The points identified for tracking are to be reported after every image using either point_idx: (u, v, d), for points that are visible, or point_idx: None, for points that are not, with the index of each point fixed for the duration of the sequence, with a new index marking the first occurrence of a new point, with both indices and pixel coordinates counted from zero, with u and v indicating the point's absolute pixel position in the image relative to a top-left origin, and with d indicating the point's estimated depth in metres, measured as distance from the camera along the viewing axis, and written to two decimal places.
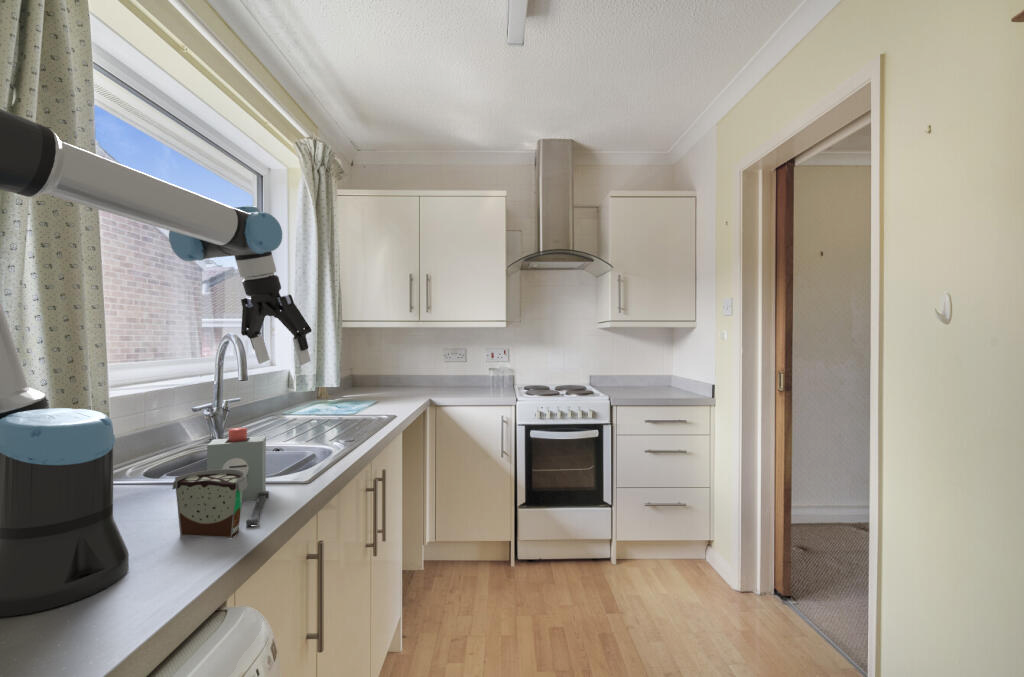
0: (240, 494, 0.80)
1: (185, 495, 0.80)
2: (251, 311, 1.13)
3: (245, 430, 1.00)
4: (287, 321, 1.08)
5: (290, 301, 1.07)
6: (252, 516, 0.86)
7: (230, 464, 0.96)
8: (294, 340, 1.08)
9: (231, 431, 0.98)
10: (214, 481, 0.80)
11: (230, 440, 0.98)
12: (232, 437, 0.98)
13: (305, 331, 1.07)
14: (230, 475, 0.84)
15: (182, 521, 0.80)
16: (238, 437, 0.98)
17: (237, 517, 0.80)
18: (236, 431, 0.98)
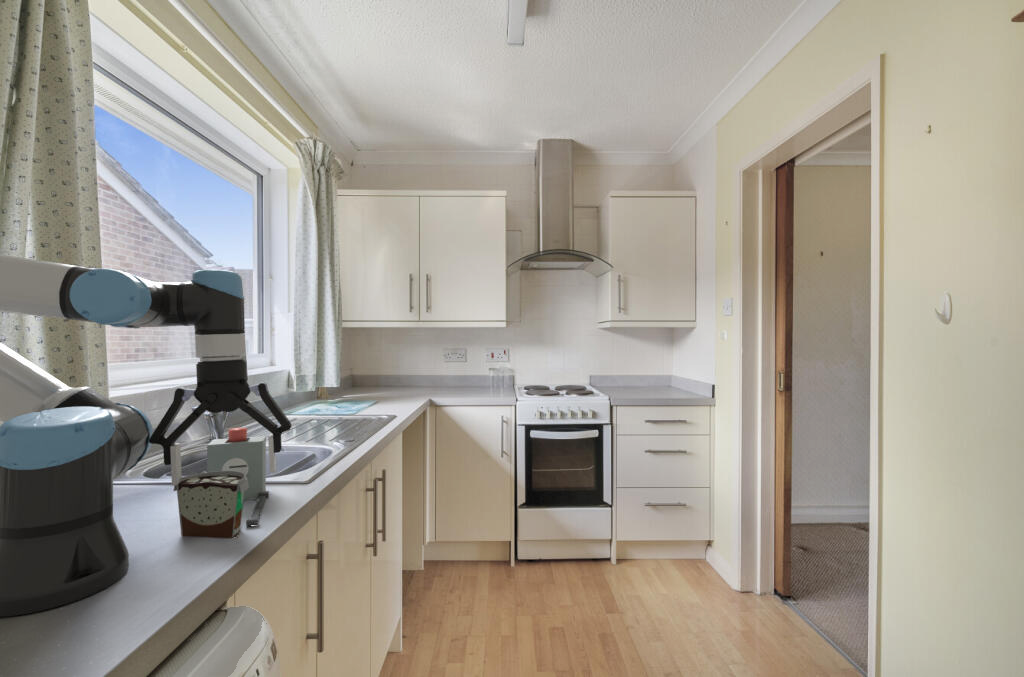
0: (241, 495, 0.80)
1: (186, 497, 0.80)
2: (180, 408, 0.80)
3: (245, 430, 1.00)
4: (261, 415, 0.84)
5: (267, 389, 0.86)
6: (252, 516, 0.86)
7: (230, 464, 0.96)
8: (270, 438, 0.84)
9: (231, 431, 0.98)
10: (215, 483, 0.80)
11: (230, 440, 0.98)
12: (232, 437, 0.98)
13: (290, 425, 0.86)
14: (231, 476, 0.84)
15: (183, 523, 0.80)
16: (238, 437, 0.98)
17: (238, 518, 0.80)
18: (236, 431, 0.98)
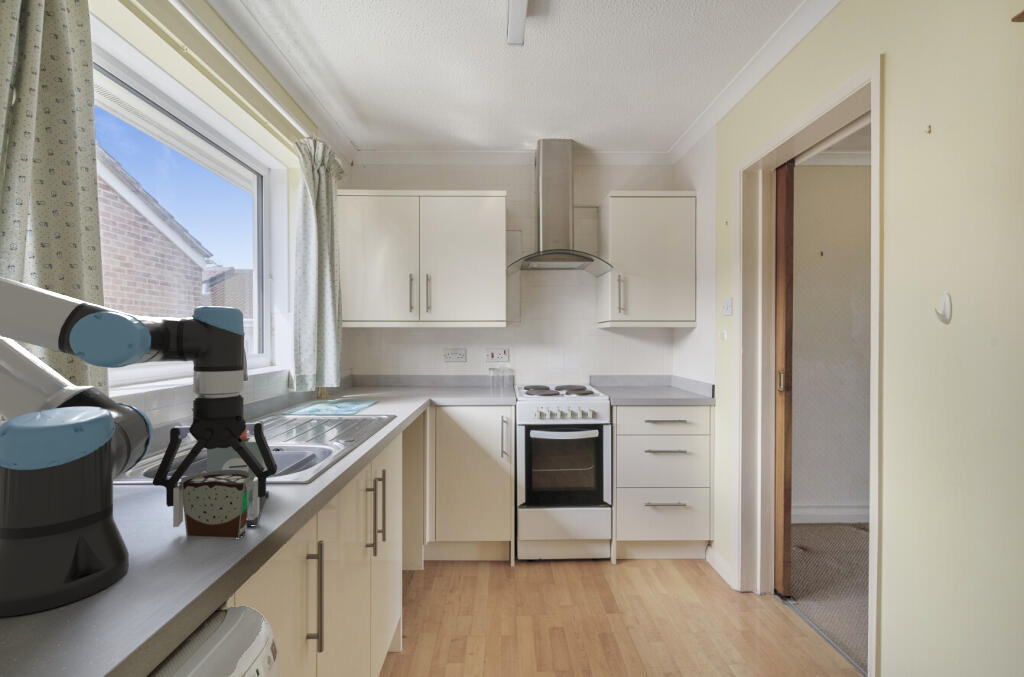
0: (247, 494, 0.80)
1: (191, 496, 0.79)
2: (178, 446, 0.80)
3: (245, 430, 1.00)
4: (251, 456, 0.84)
5: (262, 429, 0.85)
6: (252, 516, 0.86)
7: (230, 464, 0.96)
8: (255, 483, 0.83)
9: None
10: (221, 482, 0.79)
11: None
12: None
13: (276, 470, 0.85)
14: (236, 475, 0.84)
15: (188, 522, 0.79)
16: None
17: (244, 517, 0.80)
18: None
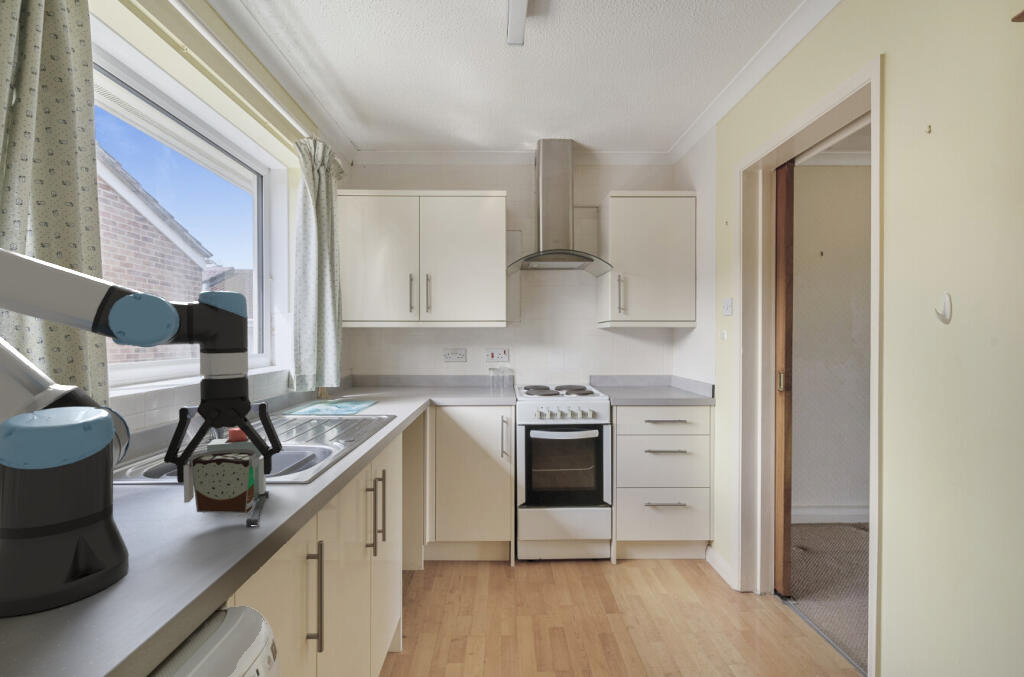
0: (253, 471, 0.83)
1: (200, 473, 0.83)
2: (187, 426, 0.84)
3: None
4: (256, 435, 0.87)
5: (266, 410, 0.89)
6: (252, 516, 0.86)
7: None
8: (261, 461, 0.87)
9: (231, 431, 0.98)
10: (228, 459, 0.83)
11: (230, 440, 0.98)
12: (232, 437, 0.98)
13: (280, 448, 0.89)
14: (243, 454, 0.87)
15: (198, 498, 0.83)
16: (238, 437, 0.98)
17: (251, 493, 0.83)
18: (236, 431, 0.98)
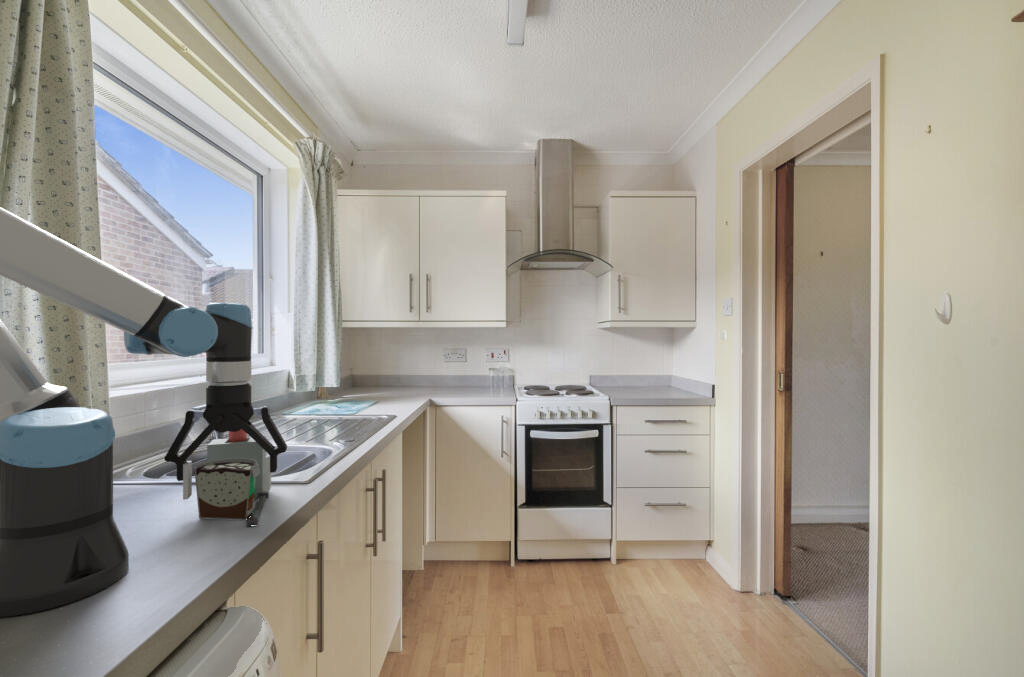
0: (254, 480, 0.88)
1: (203, 481, 0.88)
2: (190, 428, 0.89)
3: None
4: (261, 437, 0.92)
5: (268, 413, 0.94)
6: (252, 516, 0.86)
7: None
8: (267, 459, 0.92)
9: None
10: (230, 468, 0.88)
11: (230, 440, 0.98)
12: (232, 437, 0.98)
13: (286, 447, 0.94)
14: (244, 463, 0.92)
15: (201, 505, 0.88)
16: (238, 437, 0.98)
17: (251, 501, 0.88)
18: None
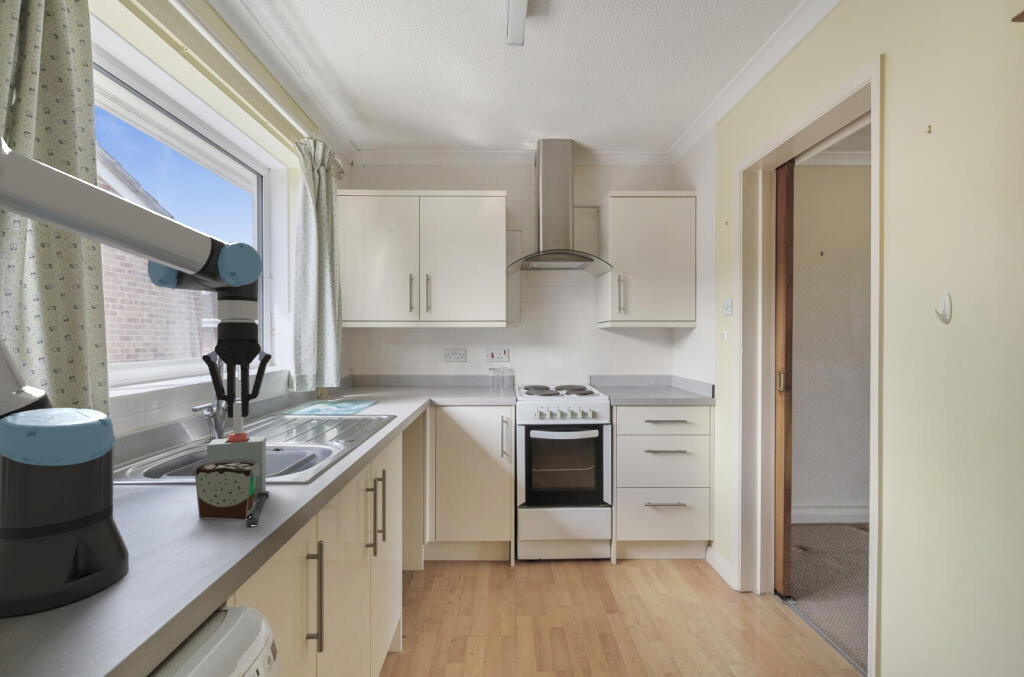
0: (254, 480, 0.88)
1: (203, 481, 0.88)
2: (217, 368, 0.98)
3: (245, 435, 1.00)
4: (247, 380, 1.00)
5: (268, 361, 1.02)
6: (252, 516, 0.86)
7: None
8: (239, 404, 0.99)
9: (231, 436, 0.98)
10: (230, 468, 0.88)
11: None
12: (232, 442, 0.98)
13: (257, 396, 1.01)
14: (244, 463, 0.92)
15: (201, 505, 0.88)
16: None
17: (251, 501, 0.88)
18: (236, 436, 0.98)
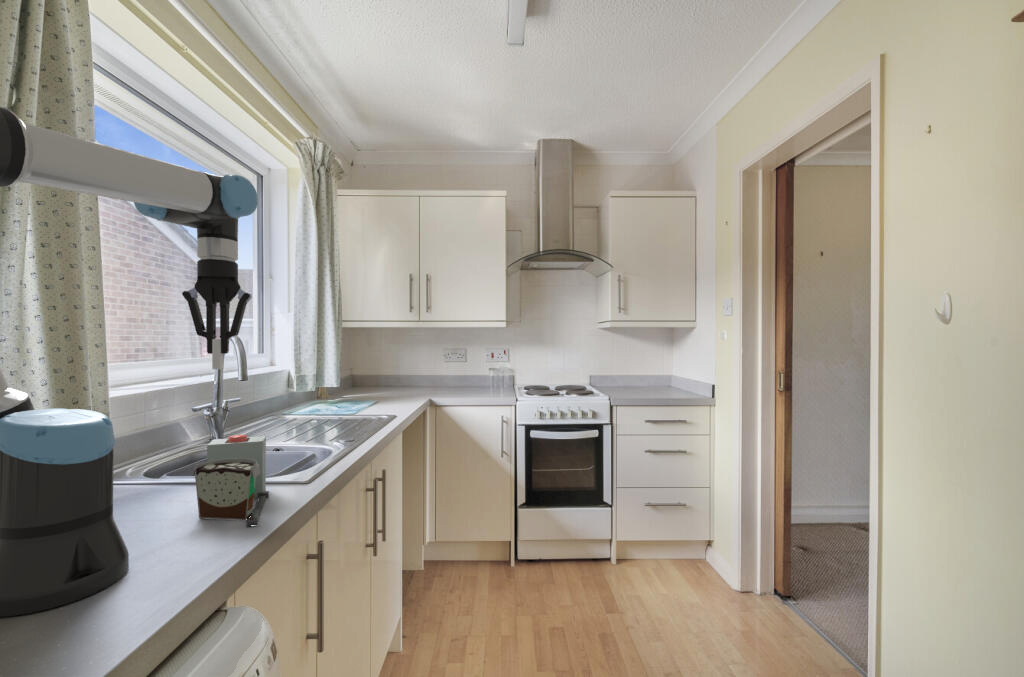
0: (254, 480, 0.88)
1: (203, 481, 0.88)
2: (197, 305, 1.01)
3: (245, 437, 1.00)
4: (226, 318, 1.02)
5: (247, 300, 1.04)
6: (252, 516, 0.86)
7: None
8: (218, 341, 1.01)
9: (231, 438, 0.98)
10: (230, 468, 0.88)
11: None
12: None
13: (236, 334, 1.03)
14: (244, 463, 0.92)
15: (201, 505, 0.88)
16: None
17: (251, 501, 0.88)
18: (236, 438, 0.98)
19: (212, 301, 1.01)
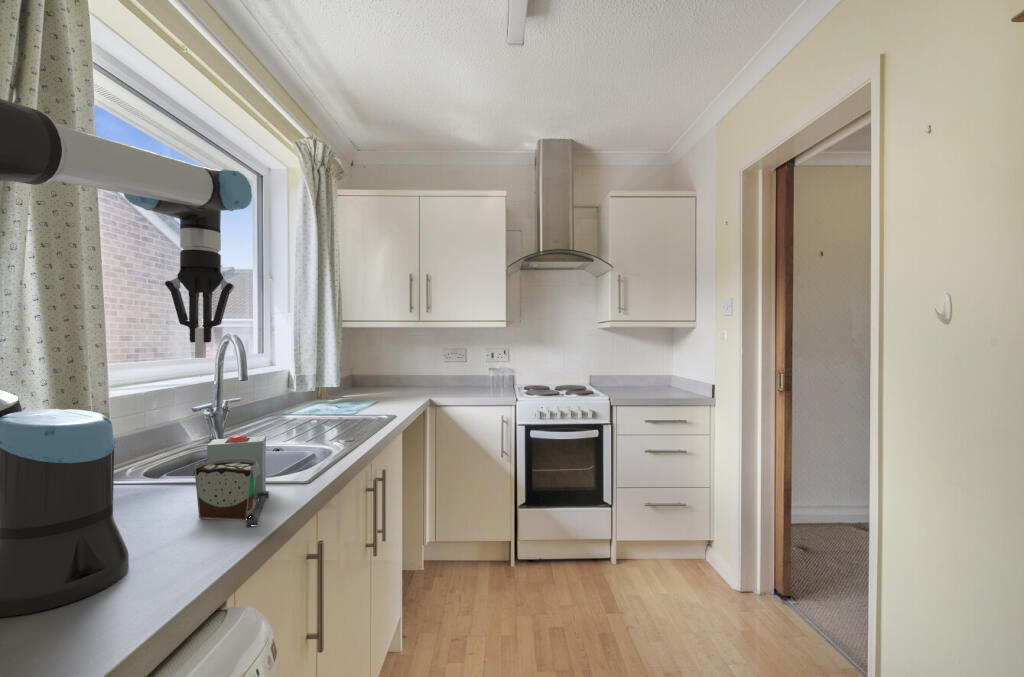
0: (254, 480, 0.88)
1: (203, 481, 0.88)
2: (180, 295, 1.03)
3: (245, 437, 1.00)
4: (209, 307, 1.04)
5: (230, 291, 1.06)
6: (252, 516, 0.86)
7: None
8: (201, 330, 1.03)
9: (231, 438, 0.98)
10: (230, 468, 0.88)
11: None
12: None
13: (218, 323, 1.05)
14: (244, 463, 0.92)
15: (201, 505, 0.88)
16: None
17: (251, 501, 0.88)
18: (236, 438, 0.98)
19: (195, 291, 1.02)
